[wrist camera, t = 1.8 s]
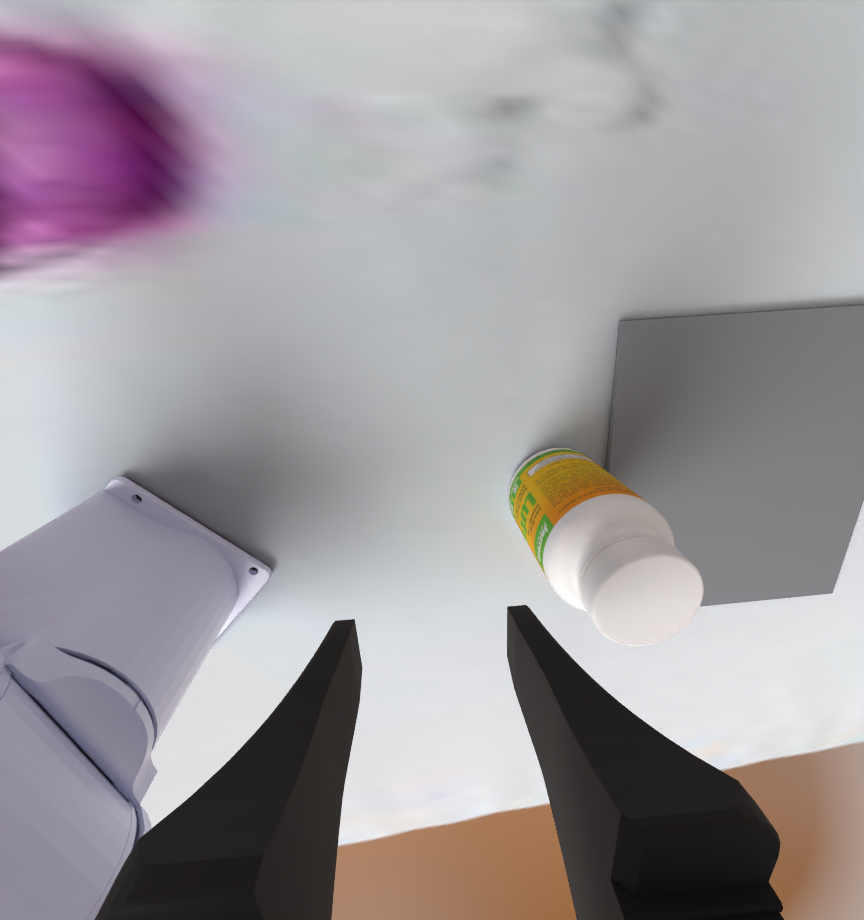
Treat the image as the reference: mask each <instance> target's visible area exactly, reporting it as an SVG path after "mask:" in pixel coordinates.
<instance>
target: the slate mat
mask: <svg viewBox="0 0 864 920" xmlns="http://www.w3.org/2000/svg"><path fill="white" fill-rule="evenodd" d="M606 471H607V472H608V473H610V474H611V475H612V476H614V477H615V478H616V479H617V480H619V481H620V482H621V483H623V484H624V485H625V486H627V487H628V488H629V489H631V490H632V491H633V492H635V493H636V494H637V495H639V496H640V497H641V498H643V499H644V500H645V501H646V502H648V503H649V504H650V505H651V506H652V507H654V508H655V509H656V510H657V511H658V512H659V513H660V514H661V515H662V516H663V517H664V519H665V520H666V521H667V523H668V525H669V526H670V529H671V531H672V534H673V537H674V544H675V548H677V549H678V550H679V551H680V552H681V554H683V555H684V556H685V557H686V558H687V559H688V560H689V561H690V562H691V563H693V565H694V566H695V567H696V568H697V569H698V571H699V573H700V575H701V577H702V581H703V586H704V592H703V599H702V602H701V604H700V606H709V605H719V604H729V603H739V602H749V601H759V600H769V599H779V598H790V597H800V596H810V595H820V594H830V593H833V590H834V587H835V584H836V581H837V578H838V575H839V572H840V569H841V566H842V563H843V560H844V557H845V554H846V551H847V548H848V545H849V542H850V539H851V536H852V533H853V530H854V527H855V524H856V521H857V518H858V515H859V512H860V509H861V506H862V503H863V500H864V305H854V306H839V307H824V308H809V309H793V310H778V311H763V312H748V313H733V314H718V315H702V316H687V317H672V318H657V319H642V320H627V321H619V331H618V342H617V353H616V364H615V375H614V385H613V396H612V407H611V418H610V429H609V439H608V450H607V461H606Z"/></svg>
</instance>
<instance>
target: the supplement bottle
mask: <svg viewBox="0 0 864 920" xmlns="http://www.w3.org/2000/svg"><path fill="white" fill-rule="evenodd" d="M508 503H509V507H510V510H511V513H512V515H513V517H514V519H515V521H516V523H517V525H518V526H519V528H520V530H521V532H522V534H523V536H524V538H525V539H526V541H527V543H528V545H529V547H530V548H531V550H532V552H533V554H534V556H535V558H536V559H537V561H538V563H539V565H540V566H541V568H542V570H543V572H544V574H545V576H546V577H547V579H548V581H549V582H550V584H551V586H552V587H553V589H554V590H555V591H556V593H557V594H558V595H559V596H560V597H561V598H562V599H563V600H564V601H566V602H567V603H569V604H570V605H572V606H574V607H576V608H578V609H581V610H584V611H587V612H588V614H589V616H590V617H591V619H592V620H593V622H594V623H595V625H596V626H597V628H598V629H599V630H600V632H601V633H602V634H603V635H605V636H606V637H607V638H609V639H610V640H612V641H614V642H616V643H619V644H623V645H628V646H644V645H650V644H654V643H658V642H660V641H663V640H665V639H667V638H669V637H671V636H673V635H674V634H676V633H677V632H679V631H680V630H681V629H683V628H684V627H685V626H686V625H687V624H688V623H689V622H690V621H691V620H692V618H693V617H694V616H695V614H696V613H697V611H698V609H699V607H700V604H701V602H702V599H703V592H704V586H703V581H702V577H701V575H700V573H699V571H698V569H697V568H696V567H695V566H694V565H693V563H691V562H690V561H689V560H688V559H687V558H686V557H685V556H684V555H683V554H681V552H680V551H679V550H678V549H677V548H675V544H674V537H673V534H672V531H671V529H670V526H669V525H668V523H667V521H666V520H665V519H664V517H663V516H662V515H661V514H660V513H659V512H658V511H657V510H656V509H655V508H654V507H652V506H651V505H650V504H649V503H648V502H646V501H645V500H644V499H643V498H641V497H640V496H639V495H637V494H636V493H635V492H633V491H632V490H631V489H629V488H628V487H627V486H625V485H624V484H623V483H621V482H620V481H619V480H617V479H616V478H615V477H614V476H612V475H611V474H610V473H608V472H607V471H606V470H605V469H603V468H602V467H601V466H599V465H598V464H597V463H596V462H594V461H593V460H592V459H590V458H589V457H587V456H586V455H584V454H583V453H581V452H579V451H577V450H574V449H570V448H551V449H546V450H543V451H540V452H538V453H536V454H534V455H532V456H531V457H529V458H528V459H527V460H526V461H524V462H523V463H522V464H521V465H520V466H519V468H518V469H517V470H516V472H515V473H514V475H513V477H512V479H511V482H510V485H509V490H508Z"/></svg>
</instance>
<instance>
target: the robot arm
mask: <svg viewBox="0 0 864 920" xmlns="http://www.w3.org/2000/svg"><path fill="white" fill-rule="evenodd" d="M136 495H138V496H140V497H141V498H142V501H141V500H138V499H137V498H136ZM251 567H255V568H257V570H258V571H254V570H252V569H251ZM271 574H272V571H271V569H270V568H269V567H268V566H266V565H265V564H263V563H262V562H260V561H258V560H257V559H255V558H254V557H252V556H250V555H249V554H247V553H246V552H244V551H242V550H241V549H239V548H238V547H236V546H234V545H233V544H231V543H230V542H228V541H226V540H225V539H223V538H222V537H220V536H218V535H217V534H215V533H214V532H212V531H210V530H209V529H207V528H206V527H204V526H202V525H201V524H199V523H198V522H196V521H194V520H193V519H191V518H190V517H188V516H186V515H185V514H183V513H182V512H180V511H178V510H177V509H175V508H174V507H172V506H170V505H169V504H167V503H166V502H164V501H162V500H161V499H159V498H158V497H156V496H154V495H153V494H151V493H150V492H148V491H146V490H145V489H143V488H142V487H140V486H138V485H137V484H135V483H134V482H132V481H130V480H129V479H127V478H125V477H116V478H114V479H112V480H111V481H110V482H109V483H108V485H107V486H106V487H105V489H104V490H103V491H102V492H100V493H98V494H97V495H95V496H93V497H92V498H90V499H88V500H86V501H85V502H83V503H81V504H80V505H78V506H76V507H75V508H73V509H71V510H69V511H68V512H66V513H64V514H63V515H61V516H59V517H58V518H56V519H54V520H53V521H51V522H49V523H47V524H46V525H44V526H42V527H41V528H39V529H37V530H36V531H34V532H32V533H31V534H29V535H27V536H25V537H24V538H22V539H20V540H19V541H17V542H15V543H14V544H12V545H10V546H9V547H7V548H5V549H4V550H2V551H1V552H0V920H331V916H332V904H333V891H334V879H335V869H336V857H337V847H338V836H339V826H340V817H341V807H342V798H343V791H344V784H345V778H346V773H347V767H348V762H349V757H350V751H351V746H352V740H353V735H354V730H355V724H356V719H357V713H358V708H359V702H360V691H361V678H362V663H361V657H360V651H359V644H358V638H357V632H356V625H355V619H352V620H340V621H335V622H334V623H333V624H332V626H331V628H330V630H329V631H328V633H327V635H326V636H325V638H324V640H323V641H322V643H321V645H320V646H319V648H318V650H317V651H316V653H315V654H314V656H313V657H312V659H311V660H310V662H309V663H308V665H307V666H306V668H305V669H304V671H303V672H302V674H301V675H300V677H299V678H298V680H297V681H296V682H295V684H294V685H293V686H292V688H291V689H290V690H289V692H288V693H287V695H286V696H285V697H284V699H283V700H282V701H281V703H280V704H279V705H278V706H277V708H276V709H275V710H274V711H273V713H272V714H271V715H270V716H269V717H268V719H267V720H266V721H265V722H264V723H263V724H262V726H261V727H260V728H259V729H258V730H257V731H256V732H255V734H254V735H253V736H252V737H251V738H250V739H249V740H248V741H247V742H246V743H245V744H244V745H243V746H242V748H241V749H240V750H239V751H238V752H237V753H236V754H235V755H234V756H233V757H232V758H231V759H230V760H229V761H228V762H227V763H226V764H225V765H224V766H223V767H222V768H221V769H220V770H219V771H218V772H217V773H216V774H214V775H213V776H212V777H211V778H210V779H209V780H208V781H207V782H206V783H205V784H204V785H203V786H202V787H200V788H199V789H198V790H197V791H196V792H195V793H194V794H193V795H192V796H191V797H189V798H188V799H187V800H186V801H185V802H184V803H182V804H181V805H180V806H179V807H178V808H176V809H175V810H174V811H173V812H171V813H170V814H169V815H168V816H167V817H165V818H164V819H163V820H162V821H160V822H159V823H158V824H157V825H156V826H154V827H153V828H152V829H151V823H150V820H149V817H148V814H147V812H146V811H145V810H144V809H143V808H142V807H141V806H140V803H141V801H142V799H143V797H144V796H145V794H146V792H147V790H148V788H149V786H150V784H151V783H152V781H153V779H154V777H155V775H156V773H157V769H156V768H155V766H154V765H153V763H152V760H151V751H152V750H153V748H154V746H155V744H156V743H157V741H158V739H159V737H160V736H161V734H162V732H163V730H164V729H165V727H166V725H167V724H168V722H169V720H170V718H171V717H172V715H173V713H174V711H175V710H176V708H177V706H178V704H179V703H180V701H181V699H182V697H183V696H184V694H185V692H186V690H187V689H188V687H189V685H190V683H191V682H192V680H193V678H194V676H195V675H196V673H197V671H198V669H199V668H200V666H201V664H202V662H203V661H204V659H205V657H206V655H207V654H208V652H209V650H210V649H211V647H212V645H213V643H214V642H215V640H216V639H217V638H218V637H219V636H220V635H221V634H222V633H223V631H224V630H225V629H226V628H227V627H228V626H229V625H230V623H231V622H232V621H233V620H234V619H235V618H236V617H237V615H238V614H239V613H240V612H241V611H242V610H243V609H244V607H245V606H246V605H247V604H248V603H249V602H250V601H251V599H252V598H253V597H254V596H255V595H256V594H257V593H258V592H259V590H260V589H261V588H262V587H263V586H264V585H265V584H266V582H267V581H268V580H269V578H270V576H271ZM507 657H508V662H509V667H510V671H511V676H512V680H513V684H514V689H515V692H516V695H517V698H518V701H519V704H520V707H521V710H522V713H523V716H524V719H525V722H526V725H527V728H528V731H529V734H530V737H531V740H532V743H533V745H534V748H535V751H536V754H537V757H538V760H539V764H540V767H541V770H542V774H543V777H544V781H545V785H546V789H547V793H548V797H549V801H550V805H551V809H552V813H553V817H554V821H555V825H556V829H557V834H558V838H559V843H560V847H561V851H562V855H563V859H564V864H565V868H566V873H567V877H568V881H569V886H570V891H571V895H572V899H573V904H574V908H575V913H576V917H577V920H784V919H783V917H782V916H781V914H780V912H782V909H783V906H782V903H781V901H780V900H779V898H778V896H777V895H776V893H775V891H774V890H773V888H772V887H771V885H770V884H769V879H770V877H771V874H772V872H773V869H774V866H775V864H776V861H777V859H778V855H779V849H780V840H779V836H778V833H777V832H776V830H775V829H774V827H773V826H772V825H771V823H770V822H769V820H768V819H767V817H766V816H765V815H764V813H763V812H762V810H761V809H760V808H759V806H758V805H757V804H756V802H755V801H754V800H753V799H752V798H751V796H750V795H749V794H748V793H747V791H746V790H745V789H744V788H743V786H742V785H741V784H740V783H739V781H737V780H736V779H734V778H732V777H730V776H729V775H727V774H725V773H724V772H722V771H720V770H718V769H717V768H715V767H713V766H711V765H710V764H708V763H706V762H705V761H703V760H701V759H699V758H698V757H696V756H694V755H693V754H691V753H689V752H688V751H686V750H685V749H683V748H682V747H680V746H679V745H677V744H676V743H674V742H673V741H671V740H669V739H668V738H666V737H665V736H664V735H662V734H661V733H659V732H658V731H657V730H655V729H654V728H652V727H651V726H650V725H648V724H647V723H646V722H644V721H643V720H641V719H640V718H639V717H637V716H636V715H635V714H633V713H632V712H631V711H630V710H628V709H627V708H626V707H625V706H623V705H622V704H621V703H620V702H618V701H617V700H616V699H615V698H614V697H613V696H611V695H610V694H609V693H608V692H607V691H606V690H604V689H603V688H602V687H601V686H600V685H599V684H598V683H597V682H596V681H595V680H594V679H592V678H591V677H590V676H589V675H588V674H587V673H586V672H585V671H584V670H583V669H582V668H581V667H580V666H579V665H578V664H577V663H576V662H575V661H574V660H573V659H572V658H571V657H570V655H569V654H568V653H567V652H566V651H565V650H564V649H563V648H562V647H561V646H560V645H559V643H558V642H557V641H556V640H555V639H554V638H553V637H552V635H551V634H550V633H549V632H548V631H547V630H546V628H545V627H544V626H543V625H542V623H541V622H540V621H539V620H538V618H537V617H536V616H535V615H534V613H533V612H532V611H531V609H530V608H529V607H528V606H527V605H522V606H509V607H507Z"/></svg>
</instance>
